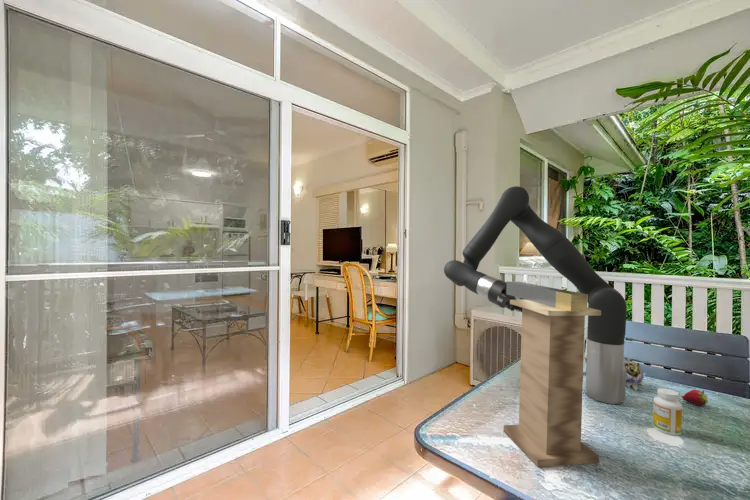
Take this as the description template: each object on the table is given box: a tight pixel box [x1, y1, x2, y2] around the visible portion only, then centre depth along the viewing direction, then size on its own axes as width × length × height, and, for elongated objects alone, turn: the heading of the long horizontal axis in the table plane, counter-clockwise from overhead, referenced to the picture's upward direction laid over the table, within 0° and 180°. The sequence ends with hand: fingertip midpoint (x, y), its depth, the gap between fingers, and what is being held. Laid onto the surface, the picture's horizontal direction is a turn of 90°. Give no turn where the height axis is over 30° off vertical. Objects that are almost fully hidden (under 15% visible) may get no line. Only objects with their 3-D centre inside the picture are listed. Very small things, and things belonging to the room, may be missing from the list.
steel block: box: [506, 281, 588, 312], centre depth 78 cm, size 4×24×4 cm, turn 8°
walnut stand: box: [503, 300, 601, 468], centre depth 74 cm, size 14×14×32 cm
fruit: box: [681, 389, 709, 407], centre depth 97 cm, size 4×6×5 cm
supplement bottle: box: [652, 387, 683, 436], centre depth 82 cm, size 5×5×10 cm
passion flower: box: [624, 357, 646, 392], centre depth 110 cm, size 11×11×12 cm
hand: (543, 313), depth 89 cm, fingers open, 8 cm apart
